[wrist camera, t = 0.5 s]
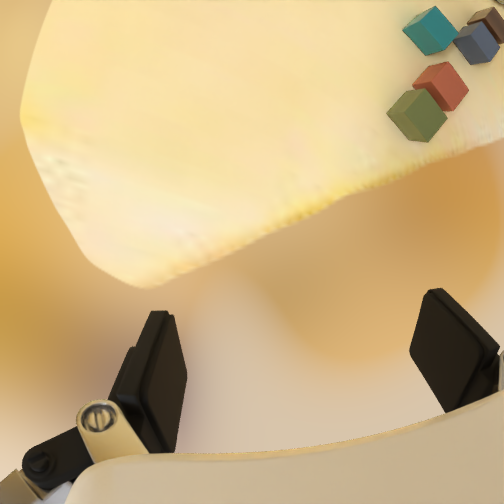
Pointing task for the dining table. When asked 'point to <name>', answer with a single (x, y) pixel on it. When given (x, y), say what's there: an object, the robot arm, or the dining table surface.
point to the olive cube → (417, 115)
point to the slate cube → (476, 43)
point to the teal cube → (431, 31)
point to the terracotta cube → (442, 85)
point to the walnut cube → (490, 23)
